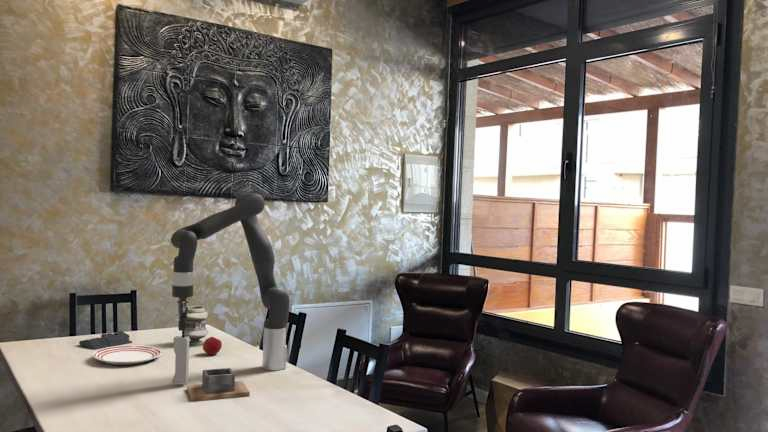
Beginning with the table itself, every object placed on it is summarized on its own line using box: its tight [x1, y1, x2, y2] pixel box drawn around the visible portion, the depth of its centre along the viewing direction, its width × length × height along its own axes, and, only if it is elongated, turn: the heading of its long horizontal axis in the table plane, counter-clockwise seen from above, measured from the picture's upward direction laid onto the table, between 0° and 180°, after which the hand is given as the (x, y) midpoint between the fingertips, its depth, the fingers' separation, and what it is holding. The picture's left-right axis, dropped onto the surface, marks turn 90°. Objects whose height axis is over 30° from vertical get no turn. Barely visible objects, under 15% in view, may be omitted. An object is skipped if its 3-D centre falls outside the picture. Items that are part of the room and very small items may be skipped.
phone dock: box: [186, 367, 251, 402], centre depth 219 cm, size 20×14×8 cm
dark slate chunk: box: [78, 330, 133, 351], centre depth 284 cm, size 15×22×5 cm
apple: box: [202, 336, 223, 356], centre depth 272 cm, size 8×8×8 cm
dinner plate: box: [92, 344, 163, 366], centre depth 259 cm, size 28×27×3 cm
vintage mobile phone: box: [171, 331, 190, 384], centre depth 226 cm, size 4×5×25 cm
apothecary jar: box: [184, 305, 209, 347], centre depth 290 cm, size 12×12×18 cm
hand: (181, 329), depth 225 cm, fingers closed on vintage mobile phone, 1 cm apart
